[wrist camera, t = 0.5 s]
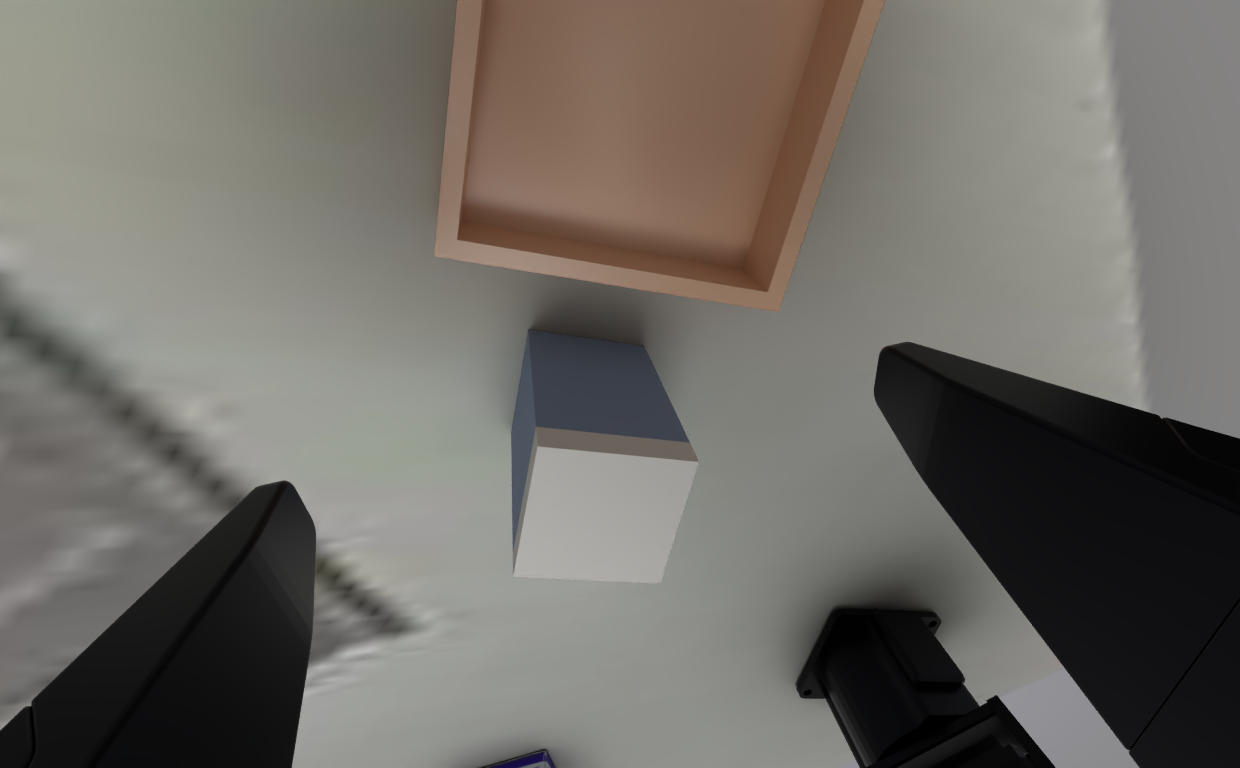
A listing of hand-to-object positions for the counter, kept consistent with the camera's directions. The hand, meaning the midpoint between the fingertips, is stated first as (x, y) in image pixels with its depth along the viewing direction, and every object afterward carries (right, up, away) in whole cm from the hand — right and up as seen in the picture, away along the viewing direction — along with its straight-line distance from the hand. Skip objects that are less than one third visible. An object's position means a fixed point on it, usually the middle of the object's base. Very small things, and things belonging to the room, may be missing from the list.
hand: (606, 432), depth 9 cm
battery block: (-2, +1, +15) cm, 15 cm away
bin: (+1, +10, +11) cm, 15 cm away
